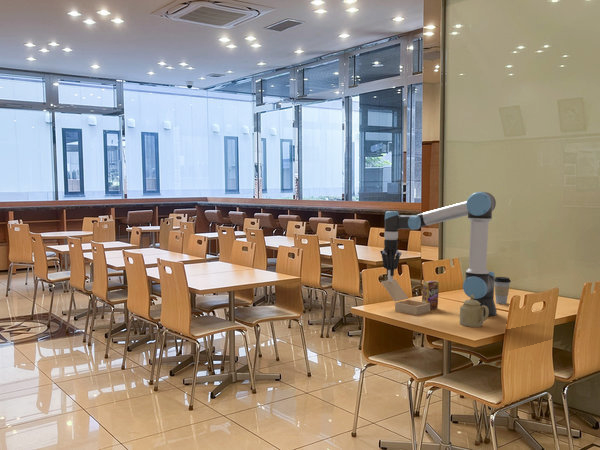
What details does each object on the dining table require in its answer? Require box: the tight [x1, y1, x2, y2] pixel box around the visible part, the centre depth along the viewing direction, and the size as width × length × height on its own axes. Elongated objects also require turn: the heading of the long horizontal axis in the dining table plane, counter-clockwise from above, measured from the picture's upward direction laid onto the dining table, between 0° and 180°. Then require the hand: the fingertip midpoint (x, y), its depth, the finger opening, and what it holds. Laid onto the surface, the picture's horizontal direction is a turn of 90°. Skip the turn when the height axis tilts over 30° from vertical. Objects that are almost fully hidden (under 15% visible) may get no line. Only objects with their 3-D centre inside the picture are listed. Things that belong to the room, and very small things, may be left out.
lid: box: [380, 278, 409, 303], centre depth 313 cm, size 14×13×1 cm
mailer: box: [394, 299, 431, 316], centre depth 305 cm, size 14×13×4 cm
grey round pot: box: [459, 294, 489, 328], centre depth 276 cm, size 15×11×15 cm
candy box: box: [421, 280, 440, 310], centre depth 313 cm, size 9×4×15 cm, turn 123°
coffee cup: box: [494, 276, 511, 305], centre depth 333 cm, size 9×9×15 cm
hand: (390, 281), depth 315 cm, fingers closed
